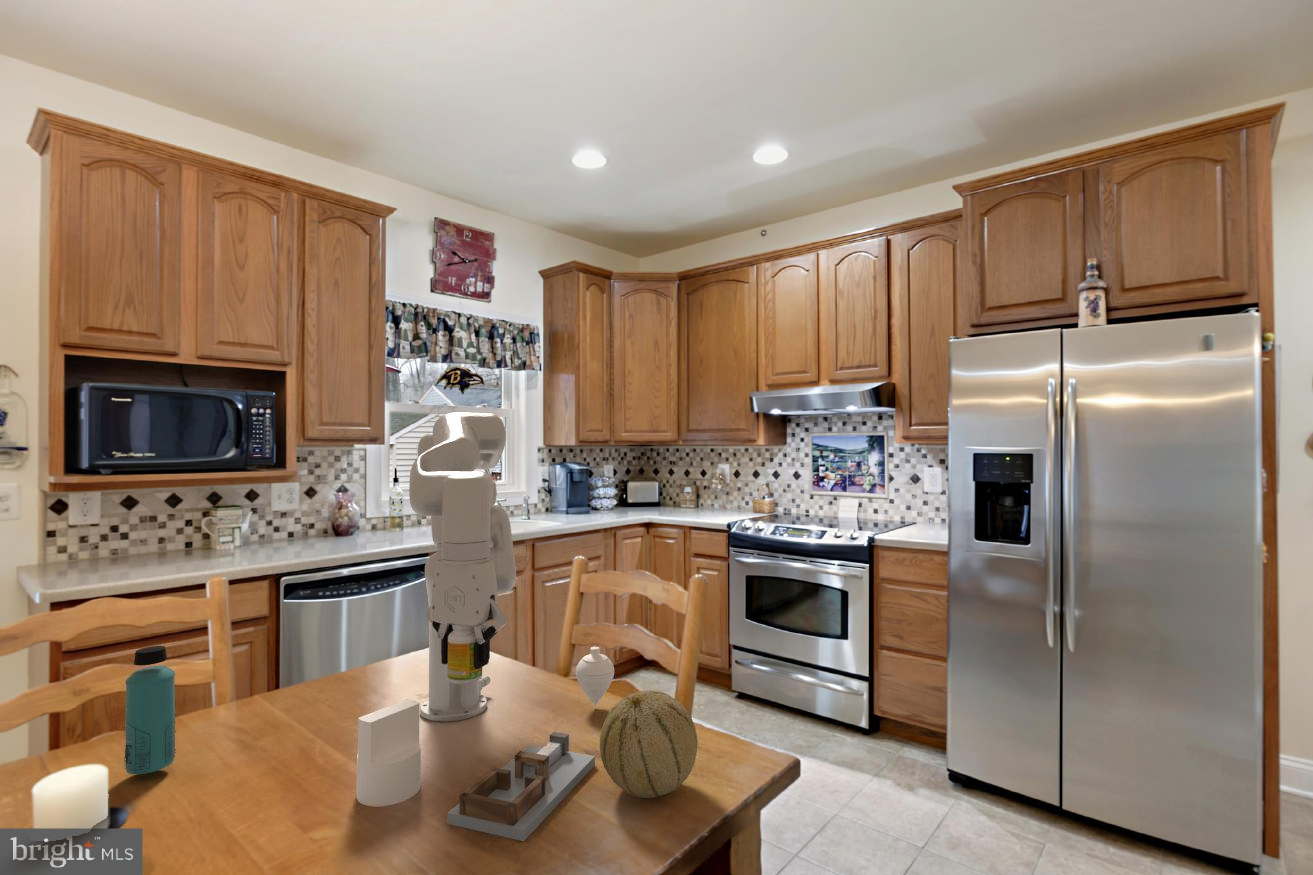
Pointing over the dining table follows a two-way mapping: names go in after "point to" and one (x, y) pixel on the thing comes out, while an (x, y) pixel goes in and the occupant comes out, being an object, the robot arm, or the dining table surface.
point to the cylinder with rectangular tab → (389, 755)
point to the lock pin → (550, 752)
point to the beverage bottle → (150, 713)
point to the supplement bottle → (462, 655)
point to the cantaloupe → (648, 744)
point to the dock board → (557, 787)
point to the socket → (497, 810)
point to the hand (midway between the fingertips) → (465, 662)
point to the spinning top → (595, 674)
